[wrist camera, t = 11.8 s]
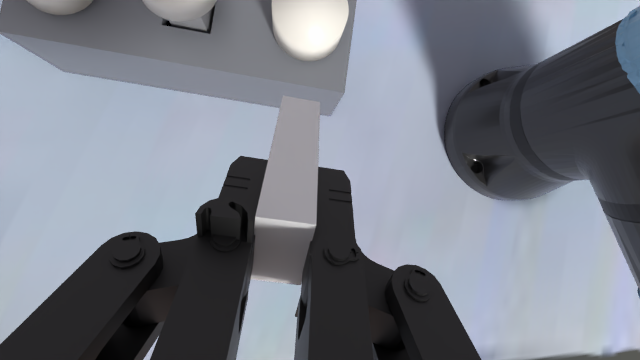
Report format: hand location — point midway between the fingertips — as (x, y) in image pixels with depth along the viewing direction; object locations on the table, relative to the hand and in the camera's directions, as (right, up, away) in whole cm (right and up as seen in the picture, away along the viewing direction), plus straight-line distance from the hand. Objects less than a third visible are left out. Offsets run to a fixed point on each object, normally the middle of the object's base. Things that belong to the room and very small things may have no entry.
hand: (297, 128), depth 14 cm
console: (-11, +14, +22) cm, 28 cm away
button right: (-1, +11, +19) cm, 22 cm away
